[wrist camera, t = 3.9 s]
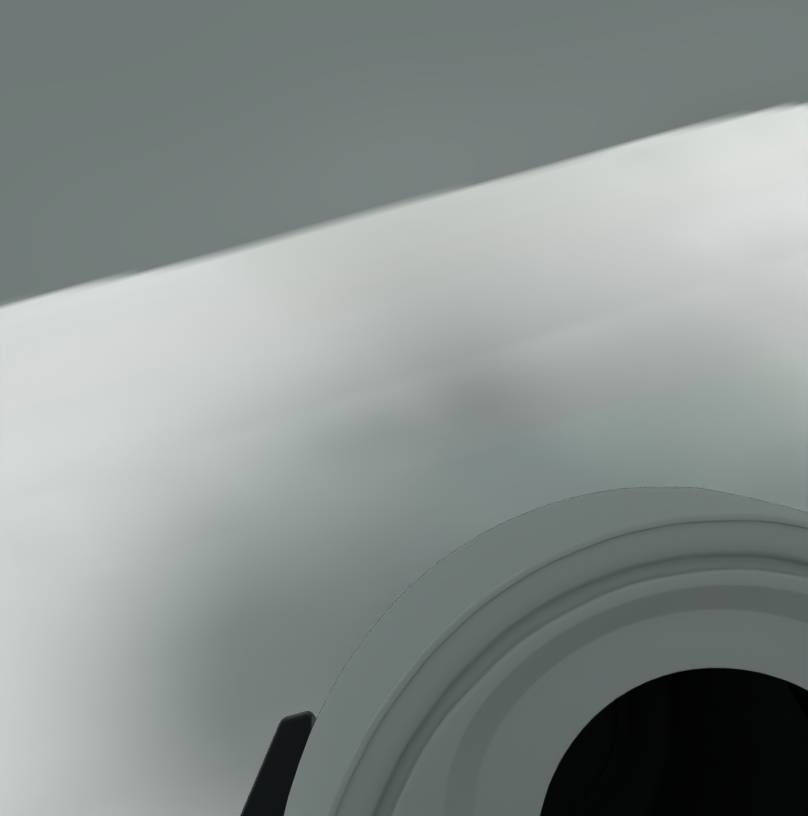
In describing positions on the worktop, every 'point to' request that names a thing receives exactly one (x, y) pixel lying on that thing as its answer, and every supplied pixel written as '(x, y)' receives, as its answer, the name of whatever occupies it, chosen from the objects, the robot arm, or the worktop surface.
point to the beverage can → (583, 670)
